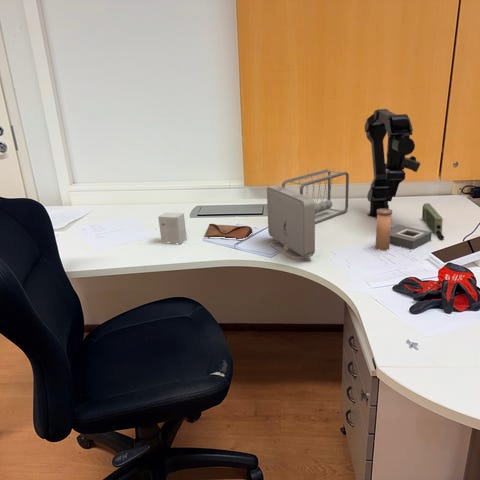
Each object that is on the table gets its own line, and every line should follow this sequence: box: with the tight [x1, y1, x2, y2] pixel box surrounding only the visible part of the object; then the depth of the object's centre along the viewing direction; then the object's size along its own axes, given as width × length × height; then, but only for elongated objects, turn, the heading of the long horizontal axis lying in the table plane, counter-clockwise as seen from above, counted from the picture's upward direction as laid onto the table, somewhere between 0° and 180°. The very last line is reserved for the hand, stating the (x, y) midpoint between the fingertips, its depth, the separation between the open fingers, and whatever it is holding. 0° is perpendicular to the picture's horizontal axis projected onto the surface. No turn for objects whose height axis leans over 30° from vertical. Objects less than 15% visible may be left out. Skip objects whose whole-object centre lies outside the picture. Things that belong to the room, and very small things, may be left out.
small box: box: [157, 212, 188, 245], centre depth 165 cm, size 8×6×10 cm
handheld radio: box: [421, 202, 445, 240], centre depth 163 cm, size 7×3×25 cm
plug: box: [375, 208, 393, 251], centre depth 147 cm, size 5×5×13 cm
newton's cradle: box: [281, 169, 350, 225], centre depth 182 cm, size 30×10×18 cm, turn 132°
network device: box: [266, 185, 316, 260], centre depth 149 cm, size 26×9×20 cm, turn 23°
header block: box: [390, 224, 433, 250], centre depth 153 cm, size 13×12×4 cm
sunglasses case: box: [203, 223, 253, 239], centre depth 169 cm, size 18×7×7 cm
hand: (392, 193), depth 164 cm, fingers open, 9 cm apart
